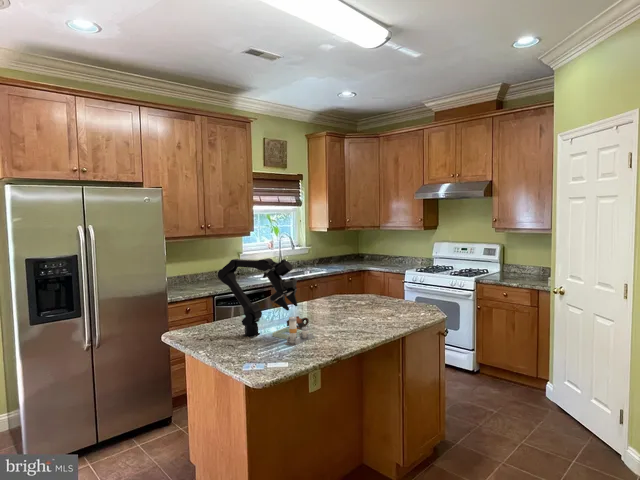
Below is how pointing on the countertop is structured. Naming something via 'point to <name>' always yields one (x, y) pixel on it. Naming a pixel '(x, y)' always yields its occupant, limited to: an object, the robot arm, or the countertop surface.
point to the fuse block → (299, 339)
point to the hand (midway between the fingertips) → (292, 308)
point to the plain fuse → (305, 332)
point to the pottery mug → (300, 322)
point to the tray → (278, 333)
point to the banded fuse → (292, 329)
